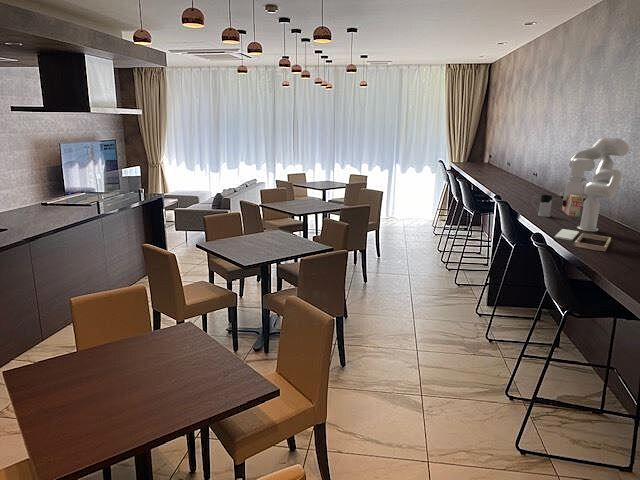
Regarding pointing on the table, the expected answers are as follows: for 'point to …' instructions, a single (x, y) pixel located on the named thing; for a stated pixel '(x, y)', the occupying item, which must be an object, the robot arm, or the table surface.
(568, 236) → the sage mat
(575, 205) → the stack of blocks
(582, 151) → the robot arm
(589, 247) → the beige open rectangular frame
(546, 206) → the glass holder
